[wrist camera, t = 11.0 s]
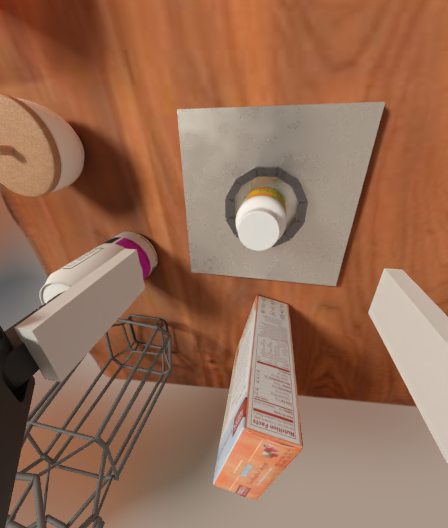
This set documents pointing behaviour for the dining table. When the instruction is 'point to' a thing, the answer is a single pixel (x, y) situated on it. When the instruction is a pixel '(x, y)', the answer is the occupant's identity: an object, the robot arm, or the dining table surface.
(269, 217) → the supplement bottle
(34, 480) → the geometric lantern
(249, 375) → the cracker box
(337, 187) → the plate
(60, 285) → the supplement can
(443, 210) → the dining table surface
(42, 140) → the lidded jar
